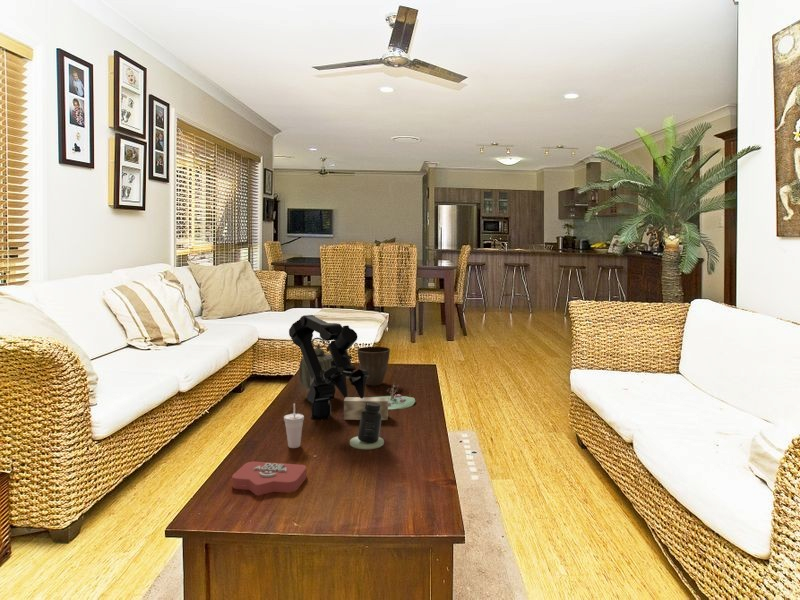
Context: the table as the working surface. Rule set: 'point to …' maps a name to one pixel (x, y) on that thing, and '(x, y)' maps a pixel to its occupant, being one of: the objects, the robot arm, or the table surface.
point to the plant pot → (374, 363)
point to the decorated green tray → (398, 400)
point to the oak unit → (363, 407)
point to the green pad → (363, 445)
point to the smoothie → (294, 428)
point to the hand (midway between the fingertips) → (354, 397)
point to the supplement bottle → (370, 423)
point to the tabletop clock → (324, 362)
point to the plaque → (269, 477)
